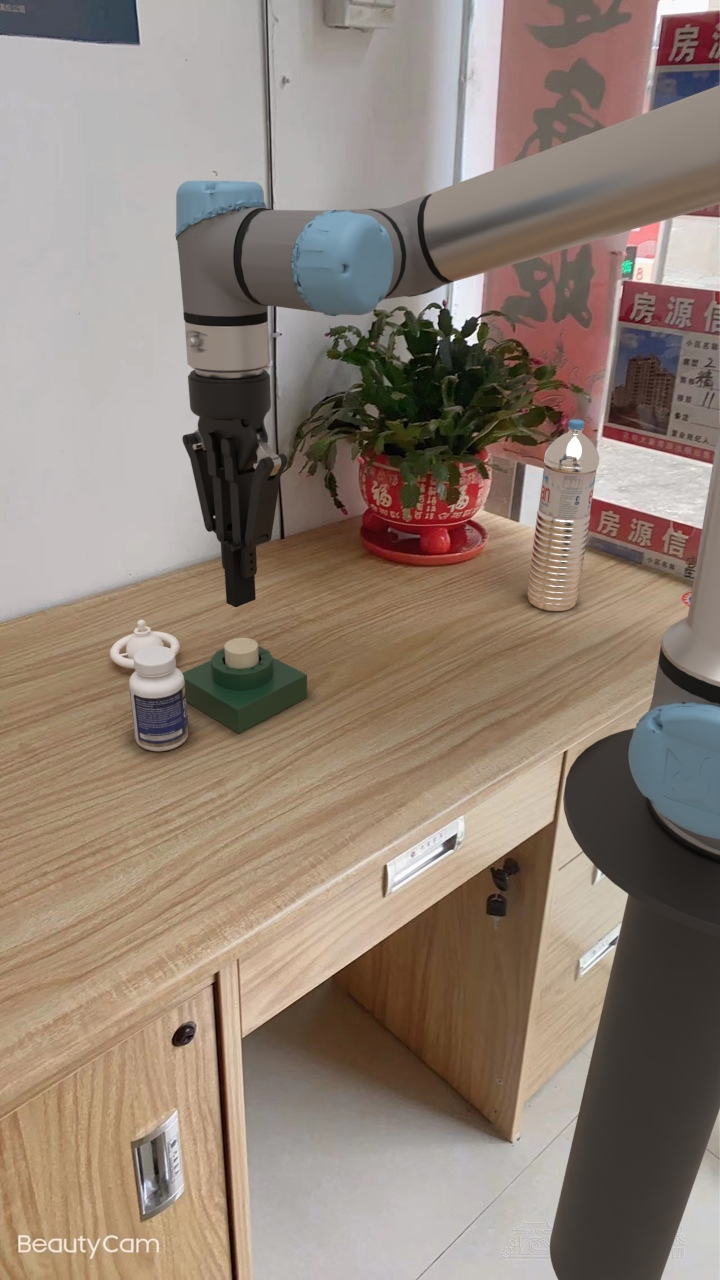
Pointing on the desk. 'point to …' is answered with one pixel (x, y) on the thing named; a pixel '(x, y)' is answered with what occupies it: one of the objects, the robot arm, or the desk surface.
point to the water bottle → (562, 520)
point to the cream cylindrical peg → (241, 653)
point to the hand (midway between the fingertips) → (241, 601)
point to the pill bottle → (158, 700)
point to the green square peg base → (244, 690)
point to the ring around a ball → (140, 644)
